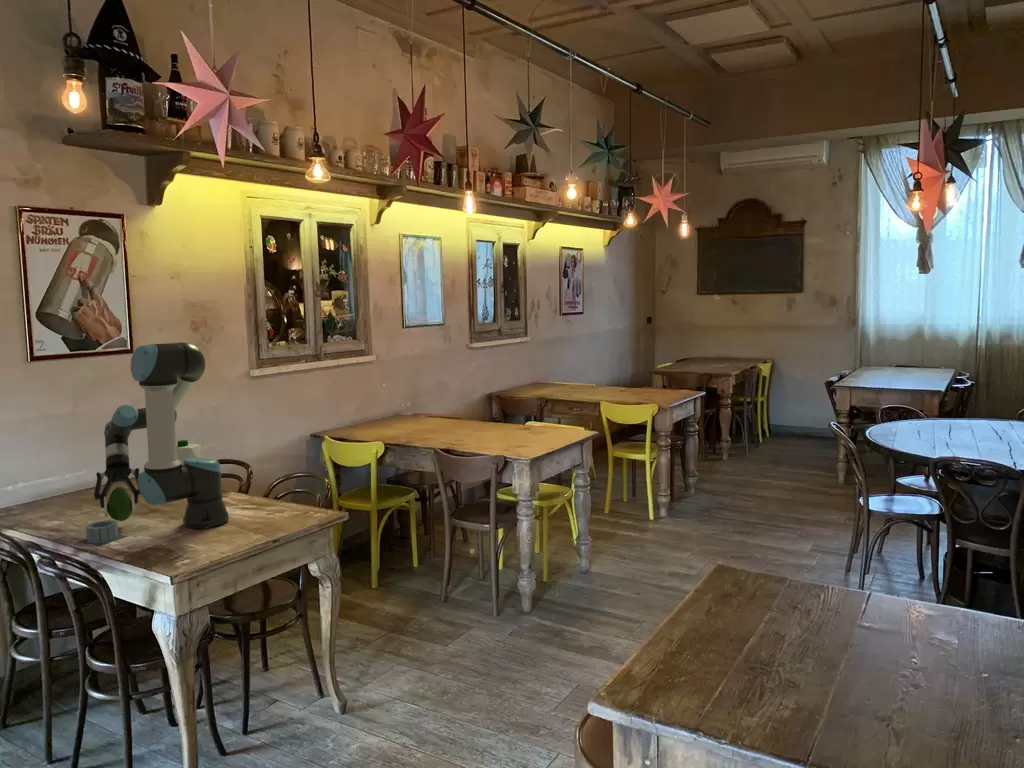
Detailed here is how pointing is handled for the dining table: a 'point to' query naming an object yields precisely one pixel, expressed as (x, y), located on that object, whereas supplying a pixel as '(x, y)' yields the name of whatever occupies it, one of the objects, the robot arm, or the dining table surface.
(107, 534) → the bowl
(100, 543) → the placemat
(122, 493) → the avocado
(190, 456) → the milk carton
